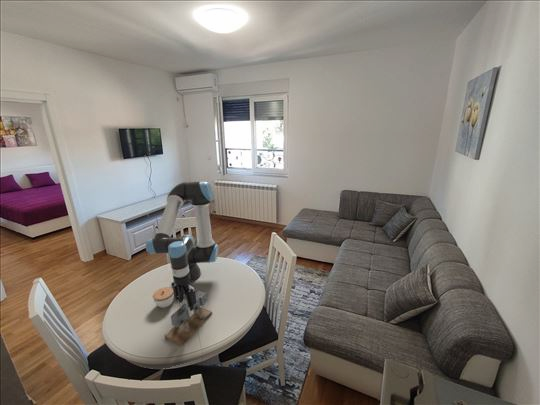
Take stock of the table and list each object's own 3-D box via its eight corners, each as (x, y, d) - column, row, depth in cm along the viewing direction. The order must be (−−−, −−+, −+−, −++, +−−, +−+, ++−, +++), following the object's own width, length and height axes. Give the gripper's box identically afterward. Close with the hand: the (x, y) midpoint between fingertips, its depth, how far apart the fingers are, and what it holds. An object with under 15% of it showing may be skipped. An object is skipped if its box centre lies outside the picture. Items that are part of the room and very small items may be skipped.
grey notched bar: (199, 298, 132) (198, 290, 131) (206, 301, 130) (205, 293, 129) (171, 324, 115) (169, 315, 114) (179, 327, 113) (177, 319, 111)
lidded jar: (153, 313, 132) (150, 298, 130) (156, 300, 142) (154, 286, 139) (174, 308, 135) (171, 294, 132) (176, 296, 145) (173, 283, 142)
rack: (196, 307, 135) (194, 296, 133) (212, 313, 131) (210, 302, 128) (165, 338, 116) (162, 325, 114) (182, 346, 112) (179, 333, 110)
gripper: (161, 273, 114) (169, 313, 121) (189, 282, 107) (195, 324, 114) (173, 265, 121) (180, 303, 128) (200, 273, 114) (206, 313, 121)
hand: (187, 313), depth 121 cm, fingers closed on grey notched bar, 4 cm apart
